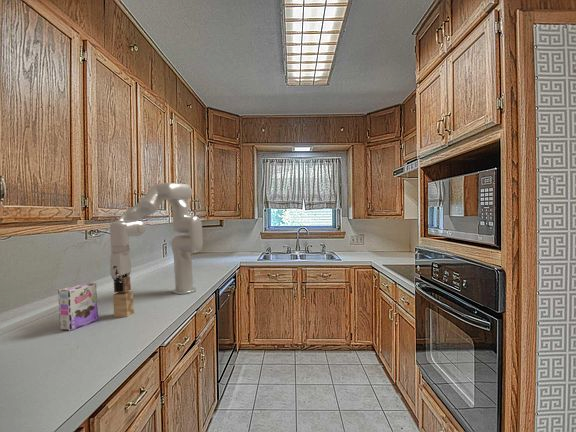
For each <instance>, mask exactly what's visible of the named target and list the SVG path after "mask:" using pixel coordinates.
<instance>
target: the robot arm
mask: <svg viewBox="0 0 576 432" xmlns="http://www.w3.org/2000/svg"><path fill="white" fill-rule="evenodd" d="M192 196H193V189H192V187H191V185H189V184H187V183H176V182H163V183H162V182H161V183H159V182H158V183H155V184H153V185H152V186H151V187H150V188H149V189H148V191H147V192H146V193H145V195H144V196H143V197H142V199H141V200H140V201H139V202H138V203H136V204H134V205H133V206H132V207H130V208H128V209H127V210H125V211H123V213H122V214H121V215H120V216H119V218H118V219H117V220H116V221H112V222H111V223H110V224H109V238H110V240H109V241H110V257H109V258H110V260H109V263H110V264H109V275H110V277H111V279H112V280H113V284H114V283H115V291H116V292H115V293H118V292H122V291H123V282H122V277H127V276H130V275H131V271H132V268H131V267H132V265H131V264H132V263H131V257H130V250H131V249H130V237H140V236H143V235H144V234H145V231H146V230H147V228H146V224H145V223H144V222H143V221H141V220H140V219H143V218H146V217H149V216H151V215H153V214H155V213H156V212H157V210H158V208H159V207H160V206H161V205H162V203H163V202H164V201H167V202H168V203H169V204H170V206H171V211H172V212H171V213H172V227H173V230H174V232H176V233H181V234H179V235H175V236H174V237H173V238H172V239H171V244H170V245H171V249H172V255H173V262H174V263H173V265H174V266H173V267H174V284H175V288H174V289H173V290H172V294H176V295H185V294H191V293H194V292H196V291H197V288H196V287H194V280H193V277H194V276H193V261H192V256H191V254H190V253H194V254H195V253H199V252H200V251H202V249H203V246H204V241H203V240H204V238H203V223H202V220H201V219H200V217H199V216H197V215H189V207H188V204H187V202H186V201H187V200H189V199H190V198H191V197H192ZM182 233H184V234H182ZM185 233H186V234H185ZM187 233H188V234H187ZM118 277H119V278H118Z"/></svg>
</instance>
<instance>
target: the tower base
mask: <svg viewBox="0 0 576 432" xmlns="http://www.w3.org/2000/svg"><path fill="white" fill-rule="evenodd" d="M134 307H135V306H134V302H133V303H131V304H129V305H127V306H114V305H113V317H114V318H128V317H130V316H131V315H133V314H134V313H135V309H134Z"/></svg>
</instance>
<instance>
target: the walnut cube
mask: <svg viewBox="0 0 576 432" xmlns="http://www.w3.org/2000/svg"><path fill="white" fill-rule="evenodd" d="M118 278H119V277H118ZM122 282H123V291H122V292H127V291H130V290H131V291H132V289H131V285H132V284H131V276H130V275H129V276H127V277H122ZM113 291H114V293H117V292H116V291H115V283H114V282H113Z"/></svg>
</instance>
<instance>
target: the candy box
mask: <svg viewBox="0 0 576 432" xmlns="http://www.w3.org/2000/svg"><path fill="white" fill-rule="evenodd" d="M57 292H58V311H59V314H58V315H59V330H62V331H63V330H64V331H69V332H72V331H74V330H76V329H78V328H82V327H84V326H87V325H89V324H92V323H95V322H96V321H97V322H98V321H99V312H98V311H99V310H98V309H99V308H98V295H97V293H98V292H97V283H96V282H83V283H81V284H77V285H72V286H69V287H65V288H64V287H63V288H62V289H61V288H60V289H58V290H57Z"/></svg>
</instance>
